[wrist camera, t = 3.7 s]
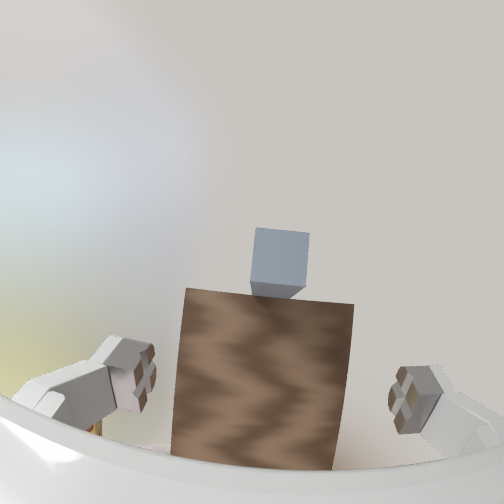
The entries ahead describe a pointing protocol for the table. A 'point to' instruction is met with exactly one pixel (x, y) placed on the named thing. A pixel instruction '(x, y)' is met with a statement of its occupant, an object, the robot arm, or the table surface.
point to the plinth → (260, 380)
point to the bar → (279, 263)
